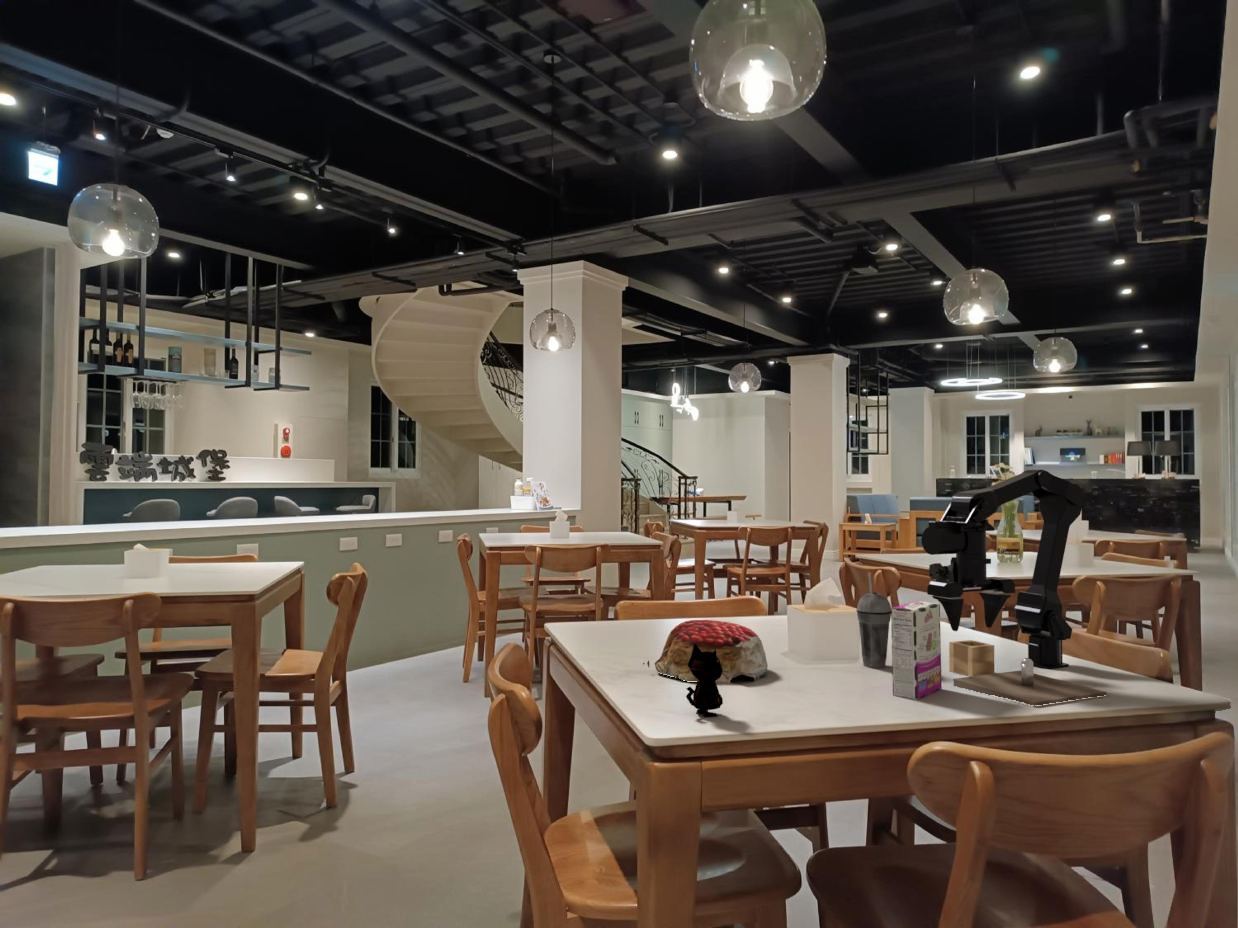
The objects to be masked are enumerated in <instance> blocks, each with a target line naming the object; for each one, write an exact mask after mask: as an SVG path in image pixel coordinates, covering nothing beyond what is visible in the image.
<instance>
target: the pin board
mask: <svg viewBox="0 0 1238 928" xmlns="http://www.w3.org/2000/svg"><path fill="white" fill-rule="evenodd" d="M1020 664H1021V670H1014V671H1005V672H998V673H995V674H988V675H980V676H972V677H969V676H964V677H958V678H957V677H956V678H953V686H954V687H956V686H957V687H956V688H961V689H963V688H965V689H964V690H967V689H968V691H971V690H973V691H972V692H975V691H976V692H975V693H978V692H980V693H979V694H982V693H985V694H984V695H986V694H988V695H987V696H990V695H995V696H998V697H1003V698H1008V699H1011V700H1016V701H1019V702H1024V703H1026V704H1030V705H1034V706H1035V705H1043V704H1049V703H1056V702H1063V701H1068V700H1076V699H1082V698H1088V697H1097V696H1104V695H1108V694H1107V691H1105V690H1102V689H1101V690H1100V689H1097V688H1094V687H1093V688H1092V687H1088V686H1084V685H1080V684H1078V683H1074V682H1073V683H1072V682H1069V681H1065V680H1060V679H1057V678H1053V677H1049V676H1045V675H1042V674H1039V673H1038V674H1037V673H1034V665H1033V661H1032V660H1031V659H1029V658H1028V657H1025V658H1023V659H1022V660H1021V663H1020Z"/></svg>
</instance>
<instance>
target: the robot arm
mask: <svg viewBox="0 0 1238 928" xmlns="http://www.w3.org/2000/svg"><path fill="white" fill-rule="evenodd" d="M1028 494H1030V496H1032V497H1033V498H1034V499H1036V500H1037V501H1038V510H1039V513H1040V515H1041V518H1042V521H1043V525H1042V530H1041V533H1040V534H1041V535H1040V540H1039V543H1038V550H1037V554H1036V559H1035V564H1034V570H1033V574H1032V580H1031V585H1030V586H1029V587H1028V589H1026V591H1022V590H1020V591H1019V592H1018V594H1017V598H1016V604H1015V606H1014V607H1013V609H1014V610H1015V620H1017V623H1018V626H1019V629H1020V632H1021V634H1024V635H1025V634H1026V635H1028V643H1027V658H1029V659H1031V660H1032V661H1033V667H1034V666H1035V667H1038V668H1043V669H1047V670H1048V669H1049V670H1051V669H1059V668H1066V667H1067V668H1069V666H1070V663H1066V662H1063V641H1066V640H1071V637H1072V632H1073V628H1072V627H1071V626H1070V625H1069V623H1068V622H1067V621H1066V620H1065V618H1064V617H1063V615H1062V611H1063V605H1062V601H1061V599H1060V596H1059V594H1058V585H1059V583H1060V582H1059V580H1060V578H1061V577H1060V576H1061V571H1062V566H1063V561H1064V556H1065V555H1064V554H1065V551H1066V546H1067V542H1068V537H1069V530H1070V527H1071V525H1072V524H1073V523H1074V522H1075V521H1076V520H1077V519H1078V518H1079V516H1080V515H1081V513H1082V510H1083V508H1084V504H1085V500H1086V493H1085V492H1084V491H1083V489H1082V488H1081V486H1080V485H1078V484H1077V483H1072V482H1070V481H1069V480H1066V479H1064V478H1061V477H1059V476H1055V475H1054V474H1052V473H1050V472H1049V471H1047V470H1045V469H1026V470H1024V471H1022V472H1021V473H1019V474H1017V475H1014V476H1012V477H1009V478H1007V479H1004V480H1002V481H1000V482H997V483H995V484H993V485H990V486H988V487H985V488H980V489H979V488H978V489H972V490H971V489H970V490H965V491H959V492H955V494H954V493H953V495H952V497H951V501H950V503H949V504H948V507H947V508H946V509H945V511H944V514H942V516H941V519H940V520H938V521H937V520H929V521H928V527H926V528H925V529H924V531H923V533H922V536H921V539H920V540H921V545H922V548H923V550H924V551H925V552H926V553H927V554H928V555H931V556H932V555H933V556H934V555H935V556H936V555H938V556H939V555H955V557H954V556H952V557H951V559H950V564H948V565H942V563H940V562H938V563H937V562H936V563H932V564H929V566H928V567H929V568H928V575H929V578H930V579H931V581H929V582H928V583H927V585H926V586H927V593H926V594H927V595H929V596H932V599H935V600H936V601H938V603H940V605H941V606H942V607H943V610H944V612H945V614H946V618H947V620H948V622H949V626H950V628H951V630H952V631H953V632H958V631H959V627H960V623H961V617H962V613H963V612H962V611H963V606H964V601H965V598H963V597H962V595H963V594H964V593H968V592H970V593H971V592H978V594H979V596H980V597H981V599H982V601H983V610H984V611H983V613H984V614H983V615H984V624H985V628H988V629H991V628H992V627H993V625H994V623H995V621H996V619H997V617H998V615H999V613H1000V612H1001V610H1002V608H1003V607H1004V605H1005V603H1006V601H1007V600H1008V599H1009V598H1011V597H1012V595H1011V594H1015V593H1016V583H1015V582H1014V581H1013V579H1012V578H1006V577H997V576H987V565H991V564H992V558H987V532H994V531H995V530H996V529H995V527H994V526H993V525H992V524H990V522H989V521H988V520H987V519H988V518H990V517H991V516H993V515H994V514H996V513H997V512H998V509H999V507H1001V506H1003V505H1005V504H1007V503H1009V502H1012V501H1014V500H1017V499H1019V498H1021V497H1023V496H1025V495H1028Z"/></svg>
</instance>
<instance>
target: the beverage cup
mask: <svg viewBox="0 0 1238 928" xmlns="http://www.w3.org/2000/svg"><path fill="white" fill-rule="evenodd" d="M867 575H868V585H869V592H867V593H865V594H864V595H862V597H861V598H860V599H858V602H857V608H856V614H857V620H858V625H859V634H860V647H861V648H860V649H861V658H862V662H863V666H864V667H867V668H871V669H883V668H886V662H887V657H888V655H887V654H888V645H889V632H890V631H889V630H890V622H891V608H892V607H891V603H890V601H889V600H888V598H887V597H886V596H885V595H883V594H882V593H879V592H873V582H872V573H871V571H868V573H867Z"/></svg>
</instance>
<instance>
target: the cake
mask: <svg viewBox="0 0 1238 928" xmlns="http://www.w3.org/2000/svg"><path fill="white" fill-rule="evenodd" d="M694 644H696V645H697V646H698V648H699V649H700V650H701V651H702V652H705V651H708V652H714V651H715V649H716V655H717V657H718V659H719V660H720V664H722V669H723V671H726V672H722V674H721V677H720V678H719V679H717V680H716V681H715V682H716V683H721V684H723V683H724V684H725V683H726V684H730V685H731V680H732V679H733V678H737V677H739V676H741V675H743V676H745V677H746V676H747V677H750V678H753V681H754V682H755V681H757V680H756V679H758V680H761V679H762V678H763V677H764V676H765V674H766V673H767V671H768V662H767V656H766V651H765V649H764V645H763V642H762V640H761V638H760V636H759V635H758V634H757V633H755V631H754V630H752V629H751V628H749V627H746V626H743V625H741V624H737V623H733V622H728V621H720V620H711V619H710V620H709V619H689V620H686V621H684V622H681V623H679V624H677V625H676V626H675V627H674V628H672V630H671V631H669V634H668V636H667V639H666V641H665V644H664V646H663V648H662V649H663V650H662V653H661V656H660V657H659V659H657V660H656V661H655V662H654V667H655V670H656V672H657V671H658V672H660V673H662V674H667V675H670V676H674V677H676V678H677V679H678V678H679V679H681V680H685V681H699V680H698V679H697V678H696V677H695V676H694V675H693V674H692V673H691V671H690V669H689V667H688V663H689V660H690V658H691V654H692V651H693V647H694ZM642 664H643V665H645V664H647V668H650V660H648V661H647V663H645V662H643V663H642ZM658 672H657V673H658ZM723 673H724V674H725V675H726V676H727V677H728V678H727V677H726V676H725V675H724V674H723ZM761 677H762V678H761ZM728 679H729V680H728Z"/></svg>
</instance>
